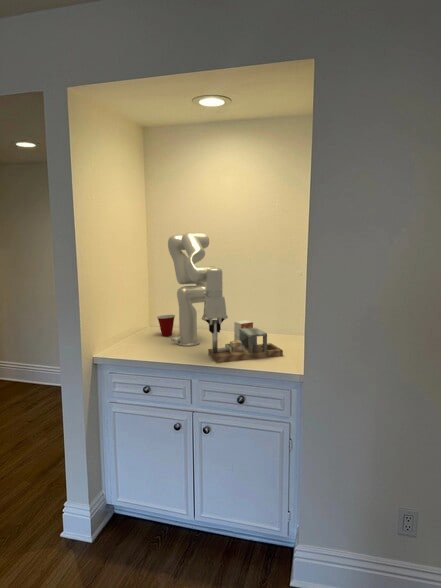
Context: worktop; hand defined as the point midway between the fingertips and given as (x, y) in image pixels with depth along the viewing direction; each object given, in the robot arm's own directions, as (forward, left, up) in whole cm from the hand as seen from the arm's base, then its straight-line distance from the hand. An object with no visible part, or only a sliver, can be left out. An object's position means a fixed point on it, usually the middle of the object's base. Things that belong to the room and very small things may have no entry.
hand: (214, 331), depth 205 cm
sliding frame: (+6, 0, -10) cm, 12 cm away
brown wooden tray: (+15, 0, -13) cm, 20 cm away
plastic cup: (-14, +54, -13) cm, 57 cm away
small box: (+21, +18, -13) cm, 31 cm away
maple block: (+11, 0, -10) cm, 15 cm away
